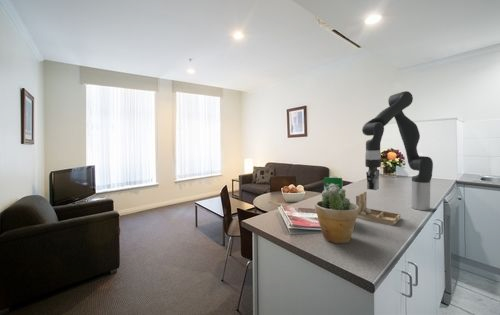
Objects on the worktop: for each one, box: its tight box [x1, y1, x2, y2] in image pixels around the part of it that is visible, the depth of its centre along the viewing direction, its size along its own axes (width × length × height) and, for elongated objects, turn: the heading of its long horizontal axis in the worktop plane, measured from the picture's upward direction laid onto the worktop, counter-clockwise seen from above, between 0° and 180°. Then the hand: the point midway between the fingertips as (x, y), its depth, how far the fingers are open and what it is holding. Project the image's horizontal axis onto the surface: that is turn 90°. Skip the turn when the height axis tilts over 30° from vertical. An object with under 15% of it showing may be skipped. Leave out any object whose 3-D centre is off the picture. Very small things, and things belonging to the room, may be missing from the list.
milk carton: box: [323, 175, 343, 191], centre depth 119 cm, size 9×9×25 cm
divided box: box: [355, 191, 401, 227], centre depth 119 cm, size 14×18×13 cm
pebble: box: [365, 207, 371, 214], centre depth 127 cm, size 3×3×3 cm
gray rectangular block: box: [366, 177, 380, 191], centre depth 120 cm, size 4×4×6 cm
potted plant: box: [314, 184, 359, 244], centre depth 97 cm, size 18×19×25 cm
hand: (373, 188), depth 121 cm, fingers closed on gray rectangular block, 4 cm apart
